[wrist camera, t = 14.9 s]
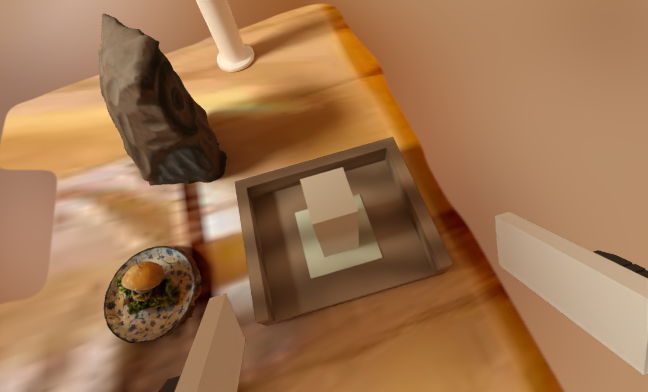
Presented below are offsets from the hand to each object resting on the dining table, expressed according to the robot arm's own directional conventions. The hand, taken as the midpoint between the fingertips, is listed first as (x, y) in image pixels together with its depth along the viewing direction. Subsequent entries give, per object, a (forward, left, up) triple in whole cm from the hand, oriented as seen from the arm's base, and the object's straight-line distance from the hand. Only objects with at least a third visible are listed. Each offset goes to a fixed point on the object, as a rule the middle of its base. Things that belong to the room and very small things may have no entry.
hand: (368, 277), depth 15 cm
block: (+6, +9, -22) cm, 25 cm away
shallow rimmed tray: (+6, +10, -24) cm, 26 cm away
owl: (0, +36, -24) cm, 43 cm away
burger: (-15, +22, -24) cm, 36 cm away
